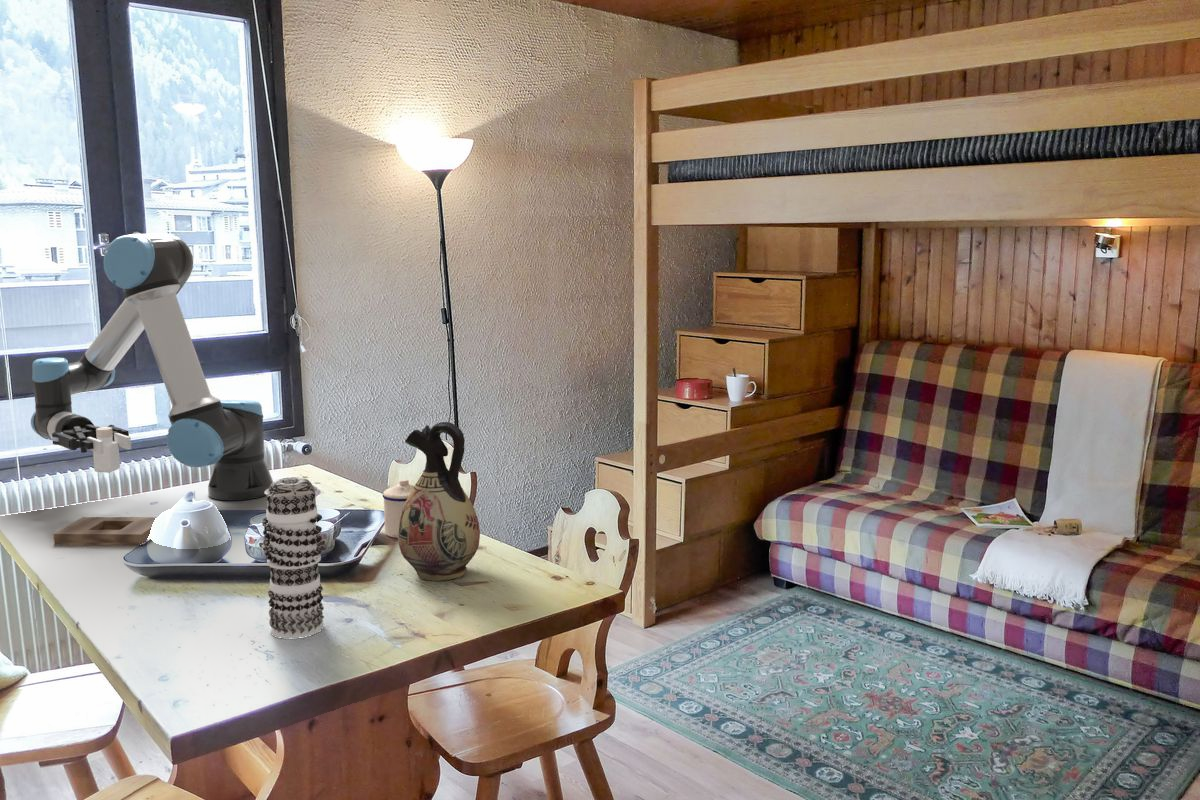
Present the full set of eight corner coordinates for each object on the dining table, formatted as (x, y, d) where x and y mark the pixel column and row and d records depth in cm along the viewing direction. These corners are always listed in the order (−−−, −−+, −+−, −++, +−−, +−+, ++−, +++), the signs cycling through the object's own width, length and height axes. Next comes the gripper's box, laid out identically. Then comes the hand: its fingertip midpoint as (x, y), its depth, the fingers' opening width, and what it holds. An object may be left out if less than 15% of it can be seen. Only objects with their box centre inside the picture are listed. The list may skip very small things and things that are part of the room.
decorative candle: (304, 613, 169) (298, 470, 164) (337, 627, 163) (332, 480, 158) (256, 629, 162) (248, 481, 157) (289, 645, 156) (281, 491, 151)
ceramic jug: (381, 579, 185) (376, 422, 180) (431, 555, 199) (428, 408, 193) (455, 595, 177) (452, 431, 172) (503, 569, 191) (501, 417, 186)
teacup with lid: (435, 532, 213) (433, 480, 211) (399, 541, 207) (397, 487, 205) (403, 520, 222) (402, 470, 220) (368, 529, 215) (366, 477, 213)
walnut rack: (167, 528, 215) (166, 517, 215) (142, 545, 203) (141, 534, 203) (83, 527, 215) (83, 516, 214) (54, 545, 203) (53, 533, 203)
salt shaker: (121, 469, 220) (118, 427, 218) (110, 473, 216) (107, 430, 214) (104, 468, 220) (101, 426, 219) (93, 472, 216) (89, 430, 215)
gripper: (113, 440, 236) (158, 455, 221) (30, 452, 222) (72, 469, 207) (110, 409, 235) (156, 422, 219) (27, 419, 221) (69, 434, 206)
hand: (115, 445), depth 213 cm, fingers closed on salt shaker, 5 cm apart
